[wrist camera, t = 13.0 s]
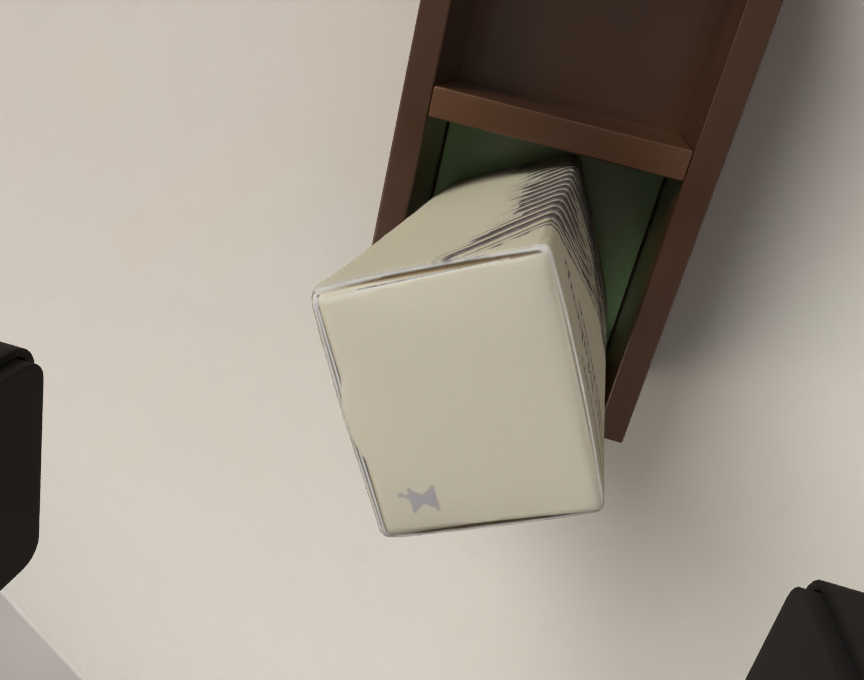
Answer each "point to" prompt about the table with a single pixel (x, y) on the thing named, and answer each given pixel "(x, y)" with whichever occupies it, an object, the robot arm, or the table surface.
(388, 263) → the box
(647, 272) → the divided tray
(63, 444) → the table surface
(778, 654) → the robot arm
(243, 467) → the table surface
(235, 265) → the table surface
